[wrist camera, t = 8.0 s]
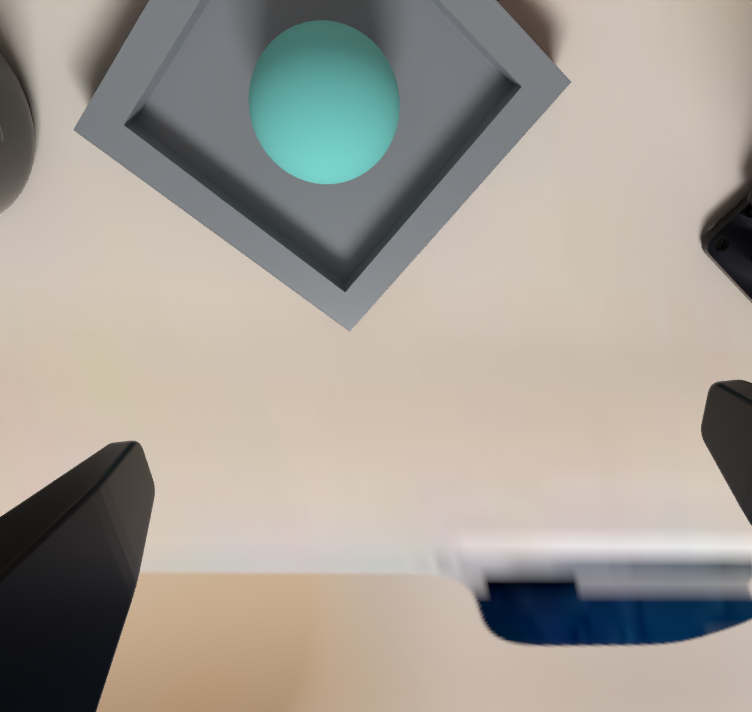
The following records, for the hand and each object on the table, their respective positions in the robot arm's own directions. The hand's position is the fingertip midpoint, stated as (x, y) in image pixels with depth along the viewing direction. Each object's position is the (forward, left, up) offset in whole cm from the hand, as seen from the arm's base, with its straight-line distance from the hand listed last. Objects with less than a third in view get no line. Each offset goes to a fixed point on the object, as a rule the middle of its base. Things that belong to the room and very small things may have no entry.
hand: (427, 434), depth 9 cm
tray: (+4, -2, -12) cm, 13 cm away
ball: (+4, -2, -9) cm, 10 cm away
